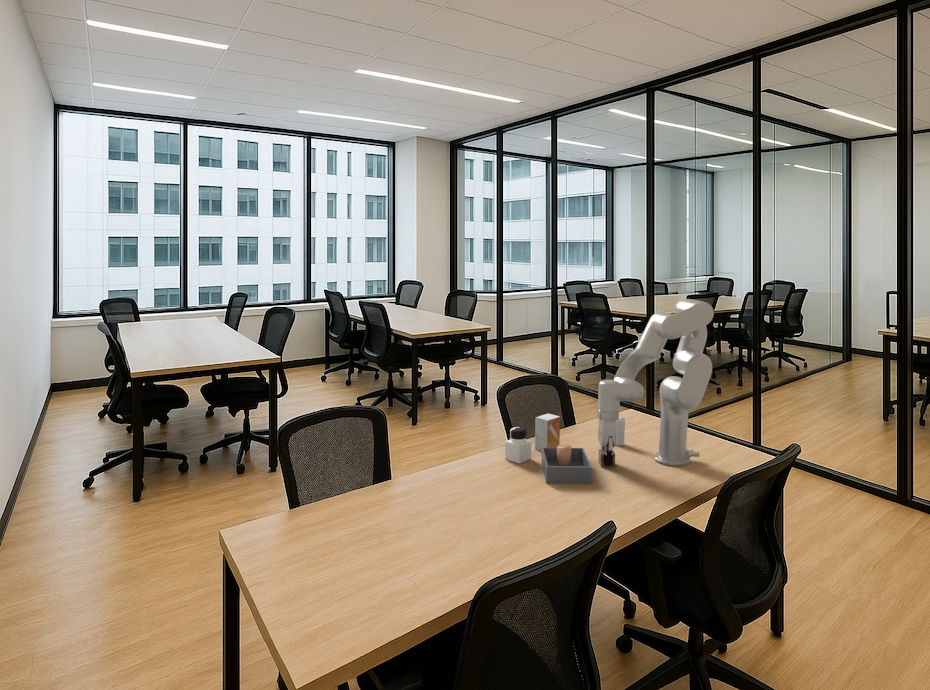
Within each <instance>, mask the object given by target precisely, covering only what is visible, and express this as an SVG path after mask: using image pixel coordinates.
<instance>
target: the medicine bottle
mask: <svg viewBox="0 0 930 690" xmlns="http://www.w3.org/2000/svg"><path fill="white" fill-rule="evenodd" d="M509 432H510V433H509V435H510V436H509V439H508V440H506V441H505V442H504V444H505V445H504V452H505V453H504V458H505V459H504V460H506V461H509V462H513V463H516V464H522V463H525V462H527V461H529V460H531V459H532V441H531V440H530V439H529V440H528V439H527V429H526V428H525V427H521V426H516V427H511V429H510V430H509Z"/></svg>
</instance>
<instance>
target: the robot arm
mask: <svg viewBox="0 0 930 690" xmlns="http://www.w3.org/2000/svg"><path fill="white" fill-rule="evenodd" d="M714 313H715V312H714V308H713V306H712V305H711V304H710V303H708V302H705V301H702V300H697V299H692V298H683V299H680V300H678V301H677V303H676V304H675V306H674V313H672V314H671V313H668V312H663V311H662V312H655V313H654V314H652V315H651V316H650V318H649V320H648V322H647V323H646V326H645V329H644V330H643V333H642V335H641V337H640V339H639V340H638V343H637V345H636V346H635V349H634V350H632V351H631V353H630V354H629V355H627V357H626V358H625V359H624V360H623V361H622V363H621V364H620V365H619V368H618V369H617V371H616V373H615V375H614V378H613V379H602V380H600V381H599V383H598V399H597V419H598V428H597V431H598V432H597V441H598V444H599V445H600V447H601V448H600V449H605V454H604V466H612V465H613V451H614V448H615V447H616V446H617V445H616V420H619V415H620V406H621V405H620V402H629V403H637V402H639V401H640V400H642V398H643V397H644V394H645V388H644V386H643V385H642V384H641V383H640V382H638V381H636V380H635V379H636V377H637V376H638V373H639V372H640V371H641V369H642V368H643V367H645V366H646V365H648V364H651V363H653V362H655V361H657V360H658V359H659V358H660V355H661V354H662V351H663V349H664V347H665V345H666V343H667V341H668V340H676V339H680V340H679V342H678V343H679V344H678V345H677V346H678V347H677V349H676V352H675V354H674V357H673V361H672V367H673V369H674V370H675V371H676V372H677V373H678V374H680V375H682V377H681V376H677V375H676V376H675V375H673V376H672V375H671V376H667V377H666V378H664V379H663V380H662V382H661V383H660V386H659V398H660V399H659V400H660V423H659V439H658V440H659V445H658V452H657V453H655V454H654V455H653V456H654V461H656V462H658V463H660V464H662V465H666V466H672V467H681V466H683V467H684V466H687V465H689V464H690V463H691V457H692V458H699V457H700V456H701V455H700V451H694V449H687V440H688V426H689V425H688V423H689V410H693V409H695V408H697V407H698V406H699V405H700V404H701V402H702V400H703V397H704V395H705V393H706V390H707V387H708V384H709V383H710V382H709V381H710V379H711V375H712V373H713V363H712V360H711V358H710V357H709V356H708V355H706V354H705V353H703V352H704V349H705V346H706V342H707V338H708V329H707V325H709V324H710V323H711V322H712V321H713V318H714ZM607 449H609V450H607Z"/></svg>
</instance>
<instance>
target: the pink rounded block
mask: <svg viewBox="0 0 930 690" xmlns="http://www.w3.org/2000/svg"><path fill="white" fill-rule="evenodd" d="M571 448H572V446H571V445H569V444H559V445H558V446H557V466H571Z"/></svg>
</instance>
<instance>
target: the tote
mask: <svg viewBox="0 0 930 690" xmlns="http://www.w3.org/2000/svg"><path fill="white" fill-rule="evenodd" d="M540 458H541V462H540V463H541V466H542V472H543V475H544V481H545V482H546V484H572V483H577V484H578V483H579V485H580V484H583V485H584V484H589V485H591V484H592V480H593V479H592V478H593V466H592V464H591V462H590V460H589V458H588V455H587V453H586V451H585V448H584V447H571V466H557V448H542V451H541V457H540Z"/></svg>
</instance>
